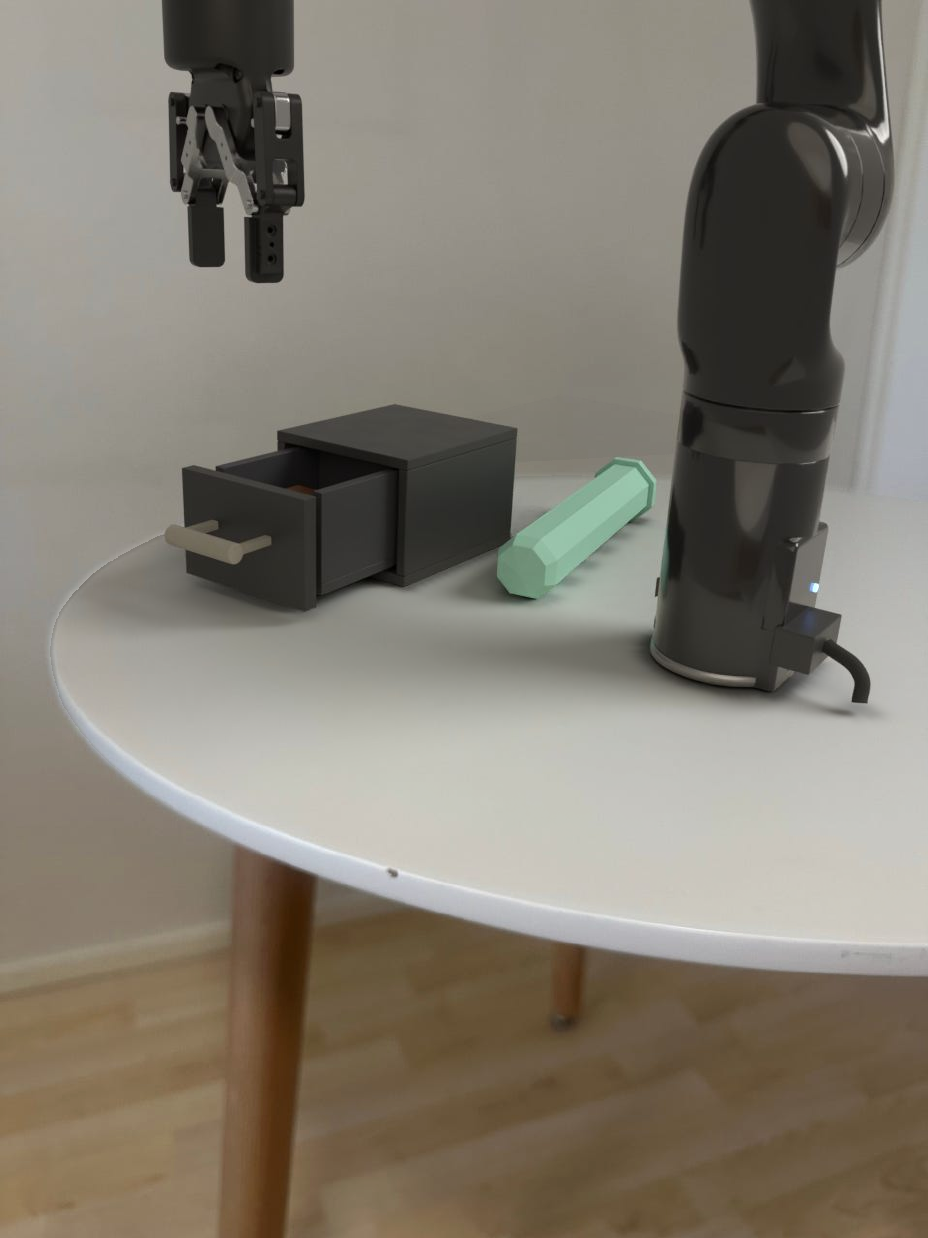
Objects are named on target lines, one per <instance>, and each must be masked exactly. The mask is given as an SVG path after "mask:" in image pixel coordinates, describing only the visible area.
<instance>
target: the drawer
mask: <svg viewBox="0 0 928 1238" xmlns="http://www.w3.org/2000/svg"><path fill="white" fill-rule="evenodd" d="M214 467H215V468H214V469H215V470H214V469H211V468H207V467H203V466H199V465H195V464H194V465H189V466H184V467H181V480H182V482H181V483H182V503H183V506H182V507H183V522H184V523H183V526H181V525H179V524H175V523H174V524H170V525H169V526H167V528H166V529H165V531H164V541H165V543H166V544H168V545H170V546H173V547H177V548H179V549H182V550H185V570H186V571H185V572H186V574H188V575H191V576H194V577H197V578H201V579H203V580H207V581H210V582H213V583H215V584H219V585H222V586H224V587H228V588H231V589H234V590H237V591H239V592H243V593H246V594H249V595H252V596H255V597H258V598H261V599H264V600H267V601H270V602H273V603H277V604H279V605H282V606H286V607H288V608H291V609H294V610H297V611H300V612H303V613H305V612H308V611H311V610H313V609H315V608H316V607H317V595H319V596H323V595H325V594H326V595H327V594H328V593H331V592H334V591H336V590H338V589H341V588H344V587H345V586H348V585H350V584H354V583H355V582H358V581H360V580H363V579H365V578H368V577H370V576H371V575H373V574H375V573H378V572H380V571H383V570H385V569H388V568H390V567H393V566H395V565H397V533H398V497H399V470H400V469H398V468H393V467H389V466H385V465H380V464H376V463H372V462H367V461H363V460H359V459H355V458H350V457H346V456H342V455H337V454H333V453H329V452H324V451H320V450H316V449H311V448H307V447H303V446H295V447H291V448H287V449H283V450H279V451H277V450H276V451H275V450H274V451H271V452H266V453H262V454H260V455H256V456H250V457H247V458H243V459H239V460H238V459H237V460H235V461H231V462H227V463H222V464H219V465H215V466H214ZM296 485H299V486H303V487H308V488H312V489H316V490H315V491H313V496H311V495H307V494H304V493H300V492H296V491H292V490H288V489H286V488H290V487H293V486H296Z"/></svg>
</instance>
